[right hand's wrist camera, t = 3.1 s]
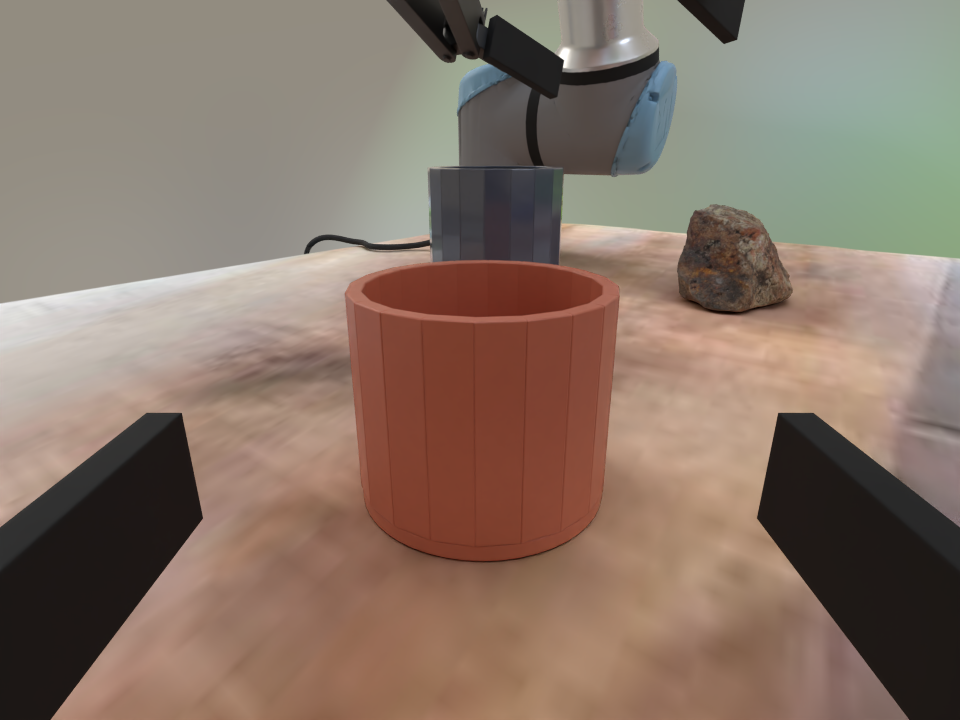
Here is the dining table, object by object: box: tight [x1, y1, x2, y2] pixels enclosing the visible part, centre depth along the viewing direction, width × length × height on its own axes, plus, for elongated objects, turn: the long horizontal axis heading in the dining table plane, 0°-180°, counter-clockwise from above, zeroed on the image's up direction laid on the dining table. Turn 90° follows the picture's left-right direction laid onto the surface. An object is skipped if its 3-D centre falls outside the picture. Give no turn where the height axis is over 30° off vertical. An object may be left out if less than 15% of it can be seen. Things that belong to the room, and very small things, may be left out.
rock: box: [677, 204, 793, 312], centre depth 53 cm, size 14×9×10 cm
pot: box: [345, 260, 619, 561], centre depth 23 cm, size 10×10×9 cm
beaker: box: [428, 166, 564, 265], centre depth 40 cm, size 9×9×12 cm
